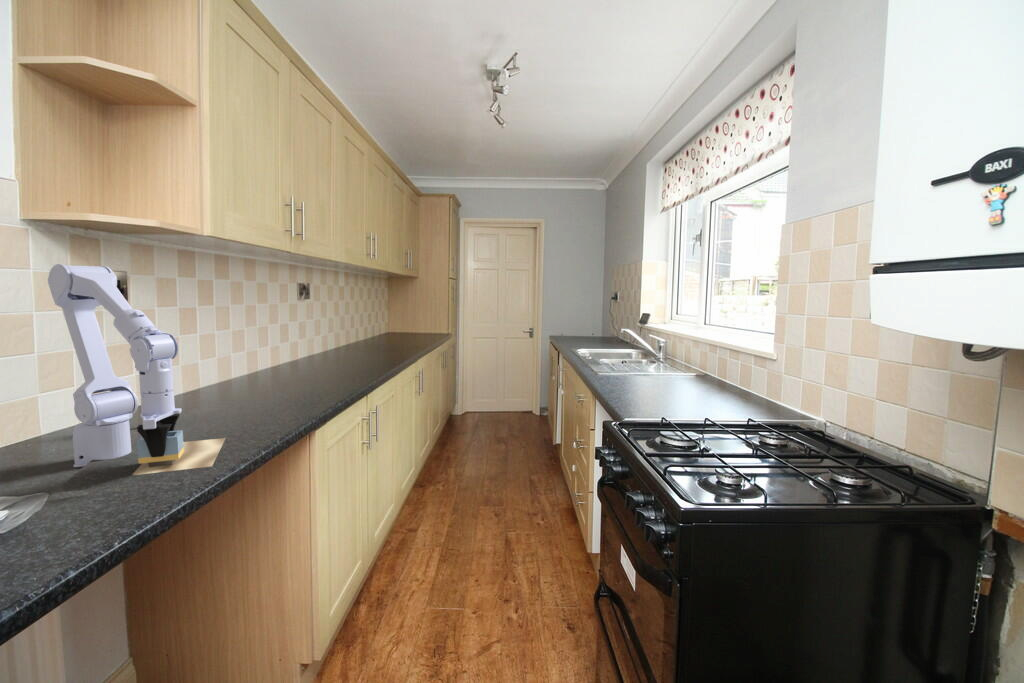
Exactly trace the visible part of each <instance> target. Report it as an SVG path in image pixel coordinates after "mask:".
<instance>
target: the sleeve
mask: <svg viewBox="0 0 1024 683" xmlns="http://www.w3.org/2000/svg"><path fill="white" fill-rule="evenodd" d="M183 442H184V430H183V429H181V430H180V429H179V430H174V431H168V434H167V439H166V448H165V453H164V456H161V457H151V455H150V453H149V450H148V447H147V445H146V442H145V440H144V439H143V437H142V436H141V435H140V437H139V438H137V440H136V449H137V462H138V463H137V464H140V465H141V464H142V463H149V462H159V461H168V460H178V459H179V458H180V457H181V455H182V454H183V452H184V444H183Z"/></svg>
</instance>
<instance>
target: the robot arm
mask: <svg viewBox="0 0 1024 683" xmlns="http://www.w3.org/2000/svg"><path fill="white" fill-rule="evenodd" d="M49 270H50V271H49V273H48V276H47V277H48V278H47V284H48V287H49V290H50V294H51V296H52V299H53V302H54V305H55V306H57V307H60V308H61V309H62V313H63V317H64V320H65V323H66V326H67V329H68V332H69V335H70V338H71V341H72V344H73V348H74V351H75V353H76V357H77V360H78V363H79V366H80V369H81V373H82V375H83V379H84V382H83V383H82V384H81V385H80V386H79V387H77V388H76V390H75V391H74V392H73V394H72V396H73V397H72V398H73V401H74V406H73V407H74V409H73V410H74V415H75V416H76V419H78V421H80V422H81V423H77V424H76V425H75V426H74V428H73V431H72V432H73V433H72V448H73V459H74V464H73V468H81V467H82V468H84V467H85V466H87V465H88V464H89V463H90V462H91V461H102V460H103V461H106V460H111V459H117V458H121V457H125V456H127V455H129V454H130V453H132V442H131V441H132V437H131V428H130V427H131V425H130V419H132V418H133V417H134V416H133V414H135V413H136V412H137V409H138V407H139V399H138V398H139V397H138V395H137V394H136V393H135V392H134V390H133V389H132V387H131V383H130V382H129V381H128V380H127V379H124V378H121V377H119V376H117V375H115V372H114V369H113V366H112V363H111V359H110V356H109V352H108V350H107V347H106V343H105V341H104V337H103V334H102V332H101V327H100V324H99V322H98V319H97V315H96V313H95V310H96V308H97V307H98V306H99V307H100V306H102V307H103V308H104V309H105V310H106V311H107V312H108V313H110V315H112V316H113V317H114V318H113V326H114V328H115V329H116V330H117V331H118V332H119V334H120V335H121V337H123V338H124V339H125V341H126V342H127V343H128V344H129V345H130V348H129V353H130V356H131V358H132V360H133V362H134V368H135V369H136V371H137V372H138V376H139V377H138V378H139V381H138V382H139V391H140V392H139V394H140V407H141V411H140V418H141V419H142V424H139V425H138V426H136V431H137V433H138V434H140V437H141V436H142V437H143V439H144V440H145V442H146V445H147V447H148V450H149V453H150V455H151V457H161V456H164V453H165V448H166V439H167V434H168V431H175V428H176V424H177V422H178V420H179V418H180V414H181V413H182V408H181V407H179V408H178V407H177V408H176V406H175V389H174V388H175V387H174V373H173V371H174V370H173V359H175V358H176V357H177V355H178V354H179V353H178V352H179V344H178V341H177V339H176V338H175V336H174V335H173V334H172V333H170V332H165V331H164V330H159V329H158V328H157V327H156V325H155V324H154V323H153V322H152V320H150V318H148V316H147V315H146V314H145V313H144V312H143V310H140V309H137V308H134V309H133V308H132V306H131V305H130V304H129V302H128V301H127V299H126V298H125V297H124V295H123V294H122V293H121V291H120V289H119V288H118V287H117V286H118V277H117V275H116V274H115V273H114V271H113V270H112V269H111V267H109V266H106V265H99V266H96V265H95V266H94V265H74V264H61V263H57V264H54V265H53V266H52V267H51V269H49Z"/></svg>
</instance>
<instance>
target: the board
mask: <svg viewBox="0 0 1024 683" xmlns="http://www.w3.org/2000/svg"><path fill="white" fill-rule="evenodd" d="M225 440H226V437H224V438H211V439H202V440H191V441H189V440H188V441H183V444H184V452H183V454H182V455H181V457H180V458H179V459H178V460H168V461H159V462H149V463H140V465H139V467H137V469H136V470H135V471H134V472H133V473H132V474H131V476H140V475H147V474H148V475H149V474H157V473H165V472H166V473H167V472H175V471H183V470H184V471H185V470H192V469H202V468H210V467H213V466H214V463H215V461H216V459H217V457H218V454H219V453H220V451H221V450H222V446H224V443H225Z"/></svg>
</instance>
